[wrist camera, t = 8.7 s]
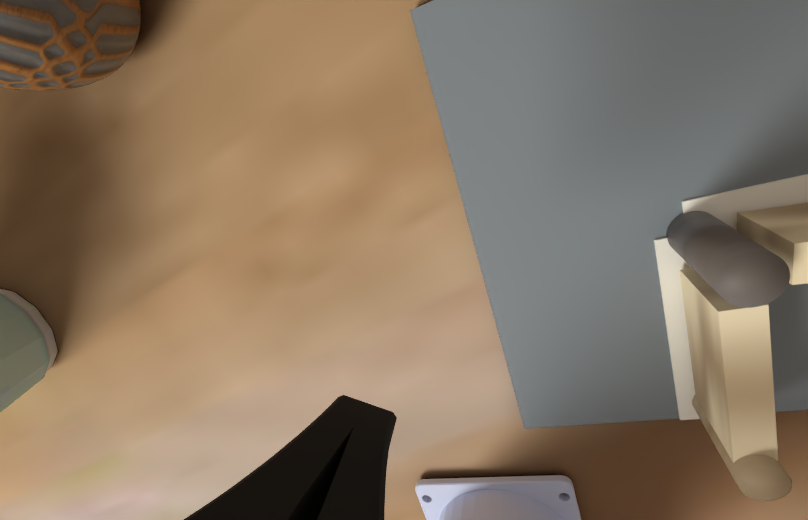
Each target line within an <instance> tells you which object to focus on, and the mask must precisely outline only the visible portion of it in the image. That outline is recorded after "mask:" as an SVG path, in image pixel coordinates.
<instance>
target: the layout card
mask: <svg viewBox="0 0 808 520" xmlns="http://www.w3.org/2000/svg"><path fill="white" fill-rule="evenodd" d="M410 11H411V15H412V19H413V22H414V26H415V30H416V33H417V37H418V41H419V44H420V48H421V52H422V55H423V59H424V63H425V66H426V70H427V73H428V77H429V81H430V84H431V88H432V92H433V95H434V99H435V103H436V106H437V110H438V114H439V117H440V121H441V125H442V128H443V132H444V136H445V139H446V143H447V147H448V150H449V154H450V158H451V161H452V165H453V169H454V172H455V176H456V180H457V183H458V187H459V190H460V194H461V198H462V201H463V205H464V209H465V212H466V216H467V220H468V223H469V227H470V231H471V234H472V238H473V242H474V245H475V249H476V253H477V256H478V260H479V264H480V267H481V271H482V275H483V278H484V282H485V286H486V289H487V293H488V296H489V300H490V304H491V307H492V311H493V315H494V318H495V322H496V326H497V329H498V333H499V337H500V340H501V344H502V348H503V351H504V355H505V359H506V362H507V366H508V370H509V373H510V377H511V381H512V384H513V388H514V392H515V395H516V399H517V403H518V406H519V410H520V413H521V417H522V421H523V424H524V428H525V429H529V428H544V427H559V426H574V425H589V424H604V423H619V422H634V421H649V420H664V419H680V420H691V419H700V418H699V416H698V414H697V413H696V411H695V409H694V407H693V405H692V399H693V397H694V395H695V388H694V380H693V372H692V364H691V356H690V348H689V340H688V333H687V325H686V317H685V309H684V301H683V293H682V285H681V278H680V270H681V269H687V268H692V267H691V266H690V265H689V264H688V263H687V262H686V261H685V260H684V259H683V258H682V257H681V256H680V255H679V254H678V253H677V252H676V251H675V250H674V249H673V248H672V247H671V246H670V245H669V243H668V239H667V237H666V232H667V228H668V226H669V224H670V223H671V221H672V220H673V219H674V218H676V217H677V216H678V215H680V214H682V213H684V214H685V213H687V212H691V211H703V212H707V213H709V214H711V215H713V216H714V217H716V218H718V219H719V220H721V221H722V222H724V223H726V224H727V225H729V226H730V227H732V228H734V229H735V230H737V212H744V211H751V210H759V209H766V208H773V207H780V206H787V205H795V204H802V203H808V0H433V1H431V2H428V3H426V4H424V5H421V6H419V7H417V8H415V9H412V10H410ZM768 305H769V321H770V337H771V353H772V369H773V385H774V400H775V412H785V411H800V410H808V284H797V285H791V284H790V283H789V284H788V286H787V288H786V289H785V291H784V292H783V293H782V294H781V295H780V296H779V297H778V298H777V299H775V300H774V301H772V302H770V303H768Z"/></svg>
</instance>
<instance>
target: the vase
mask: <svg viewBox="0 0 808 520" xmlns="http://www.w3.org/2000/svg"><path fill="white" fill-rule="evenodd" d="M140 25H141V7H140V0H0V87H3V88H9V89H16V90H31V91H46V90H63V89H72V88H76V87H80V86H84V85H88V84H91V83H93V82H96V81H98V80H101V79H103V78H105V77H107V76H108V75H110V74H112V73H113V72H115V71H116V70H118V69H119V68H120V67H121V66H122V65H123V63H124V62H125V61H126V60H127V58H128V57H129V56H130V54H131V53H132V51H133V49H134V47H135V45H136V42H137V39H138V35H139V31H140Z"/></svg>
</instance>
